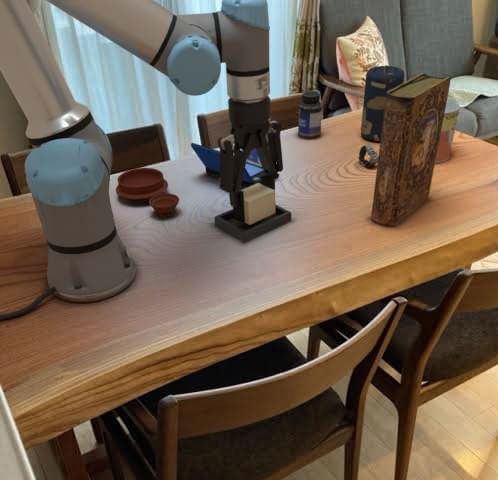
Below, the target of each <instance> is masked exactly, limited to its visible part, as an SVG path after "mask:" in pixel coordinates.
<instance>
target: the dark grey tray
mask: <svg viewBox="0 0 498 480" xmlns="http://www.w3.org/2000/svg"><path fill="white" fill-rule="evenodd" d="M213 219H214V226H215V227H217V228H219V229H221V230H222V231H224V232H225V233H226V234H228V235H231V236H233V237H234V238H236V239H238V240H239V241H241V242H242V243H249V242H250V241H252V240H254V239H256V238H258V237H260V236H262V235H265V234H266V233H268V232H271V231H273V230H275V229H277V228H279V227H281V226H284V225H285V224H288V223H290V222H292V212H291V211H290V210H289V209H288V210H287V209H285V208H284V207H282V206H279V205H277V204H275V213H274V214H272V215H270V216H268V217H266V218H264V219H261V220H259V221H257V222H255V223H253V224H251V225H249V224H247V223H245V222H243V223H241V222H239V221H238V220H236V219H234V217H233V208H231V209H229V210H227V211H224V212H222V213H220V214H217V215H215V216H214V217H213Z"/></svg>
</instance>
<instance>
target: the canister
mask: <svg viewBox="0 0 498 480" xmlns="http://www.w3.org/2000/svg"><path fill="white" fill-rule="evenodd" d="M404 82H405V71H404V69H402V68H400V67H397V66H392V65H388V64H385V65H378V66H373V67H370V68H368V69H367V71H366V74H365V84H364V92H363V103H362V114H361V124H360V134H361V136H362V137H363V138H365V139H366V140H369V141H375V142H380V140H381V132H382V124H383V116H384V107H385V99H386V92H387V91H389V90H391V89H393V88H395V87H397V86H399V85H401V84H403V83H404Z"/></svg>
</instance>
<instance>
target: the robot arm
mask: <svg viewBox="0 0 498 480" xmlns="http://www.w3.org/2000/svg"><path fill="white" fill-rule="evenodd" d="M45 1H46V2H47V3H49V4H51V5H53V6H54V7H56V8H58V10H60V11H62V12H64V13H66V15H69V16H70V17H72V18H73V19H75V20H76V21H78V22H80V23H82V24H83V25H85V26H86V27H88V28H90V29H91V30H93V31H94V32H96V33H98V34H99V35H101V36H103V37H104V38H106V39H107V40H109V41H111V42H112V43H114V44H116V46H119V47H120V48H122V50H123V49H124V50H125V51H127V52H128V53H130V54H131V55H133V56H134V57H136V58H138V59H140V60H141V61H143V62H144V63H145V64H148V65H149V66H150V67H152V68H154V69H155V70H156V71H158V72H160V73H161V74H163V75H165V76H166V77H168V79H169V81H170V82H171V83H172V84H173V86H174V87H175V89H177V90H179V91H180V92H181V93H183V94H185V95H187V96H193V97H195V96H196V97H197V96H203V95H205V94H207V93H208V92H210V91H212V89H214V88H215V86H216V85H217V84H218V82H219V80H220V76H221V73H222V72H221V71H222V64H224V63H225V74H226V77H225V78H226V94H227V96H228V97H229V99H228V100H227V107H228V118H229V121H230V124H231V126H230V127H231V128H230V132H229V135H227V136H226V137H221V136H220V137H219V138H218V139H217V144H218V148H219V151H220V178H219V189H220V190H222V191H224V192H225V193H227V194H228V195H229V205H230V206H231V207H232V209H233V217H234V219H236V220H238V221H239V222H241V223H243V222H245V213H244V192H243V191H241V190H242V189H241V187H242V186H241V183H242V179H243V174H244V170H245V165H246V162H248V161H247V160H248V159H247V158H248V157H249V156H250V151H251V150H253V149H254V148H255V149H256V151H257V154H258V157H259V160H260V162H261V164H260V166H261V167H262V168H263V171H264V173H265V174H266V176H265V175H263V176H261V184H262V185H264V186H266V187H269V188H271V189H273V190H275V191H276V180H278V179H279V177H280V173H281V172H283V171H284V161H283V150H282V141H281V132H282V126H283V125H282V123H281V122H279V121H277V120H275V119H271V120H270V121H269V118H270V115H271V98H270V96H269V95H270V94H271V70H270V30H271V26H270V19H269V4H268V0H221V7H220V10H218V11H217V10H216V11H215V12H205V13H204V12H203V13H191V14H189V13H188V14H174V13H173V12H172V11H170V10H169V9H167V8H166V7H164V6H163V5H162V4H161V3H159V2H158V1H156V0H45ZM0 72H1V74H2V76H3V78H4V80H5V82H6V83H7V85H8V87H9V89H10V91H11V92H12V94H13V96H14V98H15V99H16V101H17V104H18V105H19V107H20V109H21V110H22V112H23V114H24V115H25V117H26V119H27V127H26V131H25V136H26V138H27V139H28V141H29V144H30V145H31V146H32V148H33V150H32V151H30V152H29V154H28V155H27V157H26V158H25V162H24V172H25V182H26V185H27V188H28V190H29V191H30V194H31V198H32V200H33V203H34V206H35V209H36V212H37V216H38V219H39V223H40V225H41V228H42V231H43V234H44V237H45V241H46V243H47V247H48V253H47V268H46V269H47V270H46V278H47V284H48V286H49V289H48V290H46V291H45V292H43V293H42V294H40V295H39V296H38V297H37V298H35V299H34V300H33V301H32V302H31V303H30V304H29V305H27V306H25V307H23V308H21V309H18V310H15V311H12V312H8V313H3V314H0V321H4V320H9V319H12V318H17V317H19V316H22V315H25V314H28V313H29V312H31V311H32V310H34V309H35V308H36V307H37V306H38V305H39V304H41V302H43V301H44V300H45V299H47V298H48V297H49V296H51V295H52V294H53V295H54V296H55V297H57V298H59V299H60V300H63V301H65V302H71V303H93V302H98V301H102V300H105V299H108V298H111V297H113V296H116V295H118V294H120V293H121V292H122V291H124V290H125V289H127V288H128V287H129V286H130V285H131V284H132V282H133V281H134V279H135V276H136V273H137V272H136V266H135V261H134V259H133V257H132V255H131V253H130V250H129V248H128V246H127V244H126V243H124V242H123V240H122V239H121V237H120V235H119V234H118V232H117V231H118V230H117V227H116V222H115V221H116V220H115V217H114V213H113V208H112V204H111V199H110V198H111V197H110V183H111V171H112V167H113V159H114V157H113V156H114V154H113V148H112V144H111V142H110V139H109V137H108V135H107V134H106V132H105V130H103V128H102V127H101V126H100V125H99V124H98V123H96V121H95V119H94V116H93V115H92V112H91V110H90V108H89V107H88V106H87V105H85V104H82V103H81V102H78V101H77V100H76V99H75V97H74V95H73V93H72V91H71V89H70V87H69V84H68V82H67V81H66V79H65V76H64V75H63V73H62V70H61V68H60V66H59V64H58V62H57V60H56V58H55V56H54V54H53V52H52V50H51V48H50V46H49V44H48V41H47V40H46V37H45V36H44V33H43V32H42V29H41V27H40V25H39V23H38V20H37V19H36V17H35V15H34V13H33V11H32V9H31V7H30V5H29V2H28V0H0ZM266 135H267V138H268V142H267V139H266ZM268 147H269V149H268ZM242 150H244V151H242ZM279 172H280V173H279Z"/></svg>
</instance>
